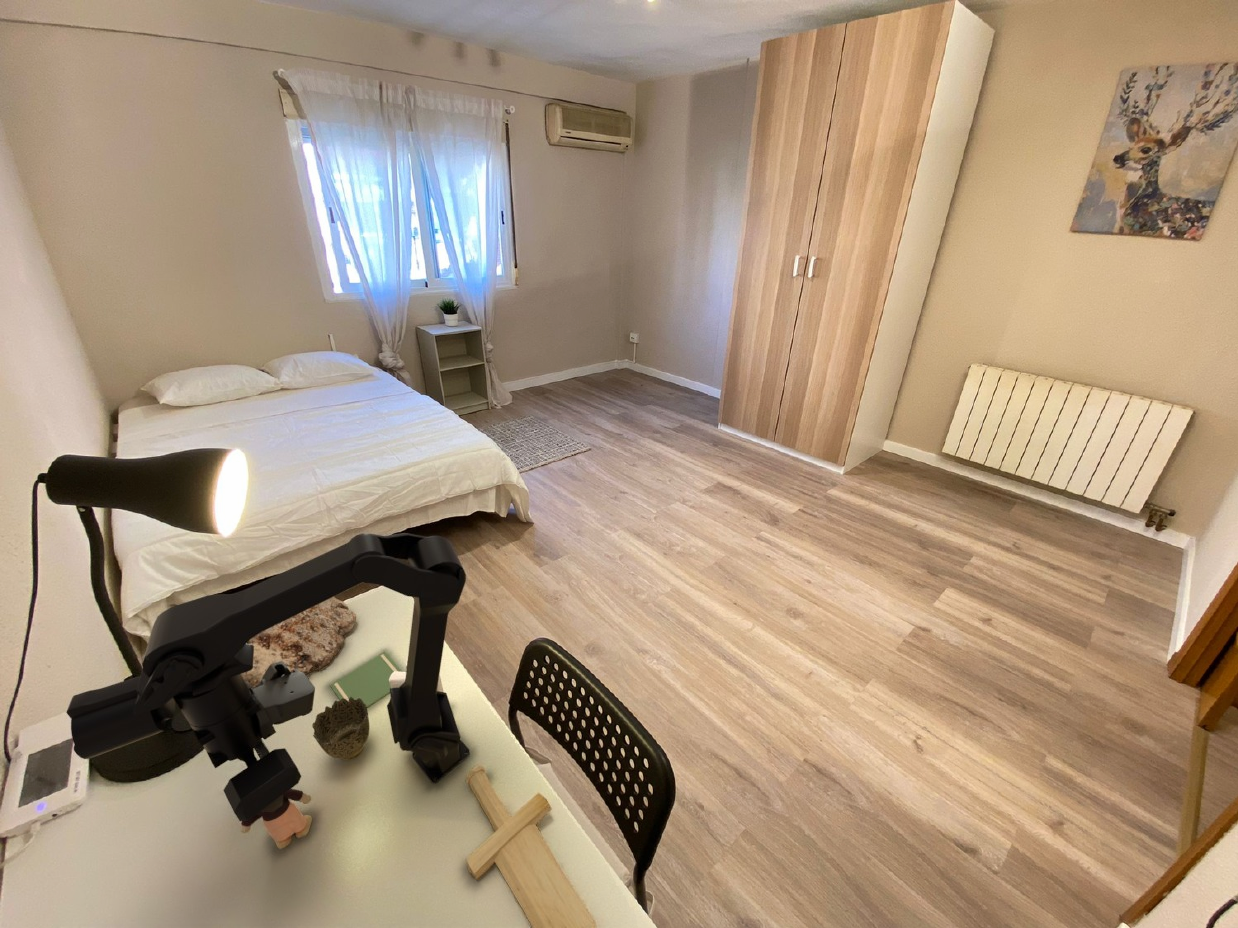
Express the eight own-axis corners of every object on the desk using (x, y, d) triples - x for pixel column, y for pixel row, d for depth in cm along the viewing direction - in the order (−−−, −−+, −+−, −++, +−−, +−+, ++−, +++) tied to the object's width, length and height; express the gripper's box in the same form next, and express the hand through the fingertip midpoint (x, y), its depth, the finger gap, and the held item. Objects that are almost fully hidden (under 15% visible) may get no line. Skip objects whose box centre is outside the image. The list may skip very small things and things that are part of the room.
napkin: (408, 679, 91) (408, 678, 91) (352, 717, 84) (352, 716, 84) (384, 652, 96) (384, 650, 96) (330, 685, 89) (329, 684, 89)
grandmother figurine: (315, 802, 73) (289, 749, 66) (324, 823, 70) (298, 771, 64) (252, 844, 68) (218, 792, 62) (260, 869, 65) (225, 817, 59)
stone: (214, 683, 89) (279, 722, 86) (202, 654, 84) (270, 694, 81) (321, 598, 107) (378, 628, 104) (316, 570, 103) (375, 600, 99)
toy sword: (438, 809, 73) (558, 1046, 53) (432, 799, 71) (555, 1041, 52) (511, 750, 79) (642, 943, 60) (507, 740, 77) (642, 935, 58)
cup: (326, 738, 81) (313, 706, 77) (376, 721, 84) (366, 689, 80) (324, 782, 75) (310, 750, 71) (378, 762, 78) (367, 730, 74)
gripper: (329, 703, 57) (361, 781, 65) (266, 620, 67) (300, 696, 75) (212, 780, 49) (263, 859, 57) (162, 674, 60) (210, 753, 67)
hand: (263, 781), depth 64 cm, fingers open, 9 cm apart
